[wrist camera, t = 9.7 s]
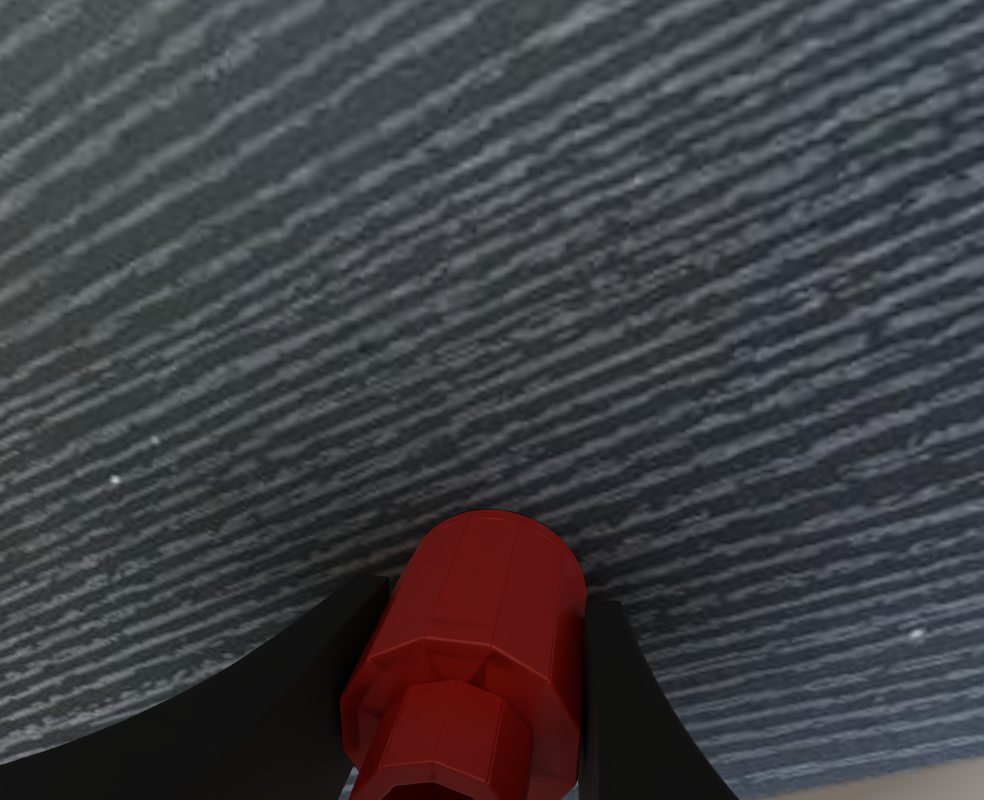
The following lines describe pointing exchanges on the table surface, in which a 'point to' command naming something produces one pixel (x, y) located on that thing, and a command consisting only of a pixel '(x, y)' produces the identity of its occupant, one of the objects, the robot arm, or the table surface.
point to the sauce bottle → (473, 669)
